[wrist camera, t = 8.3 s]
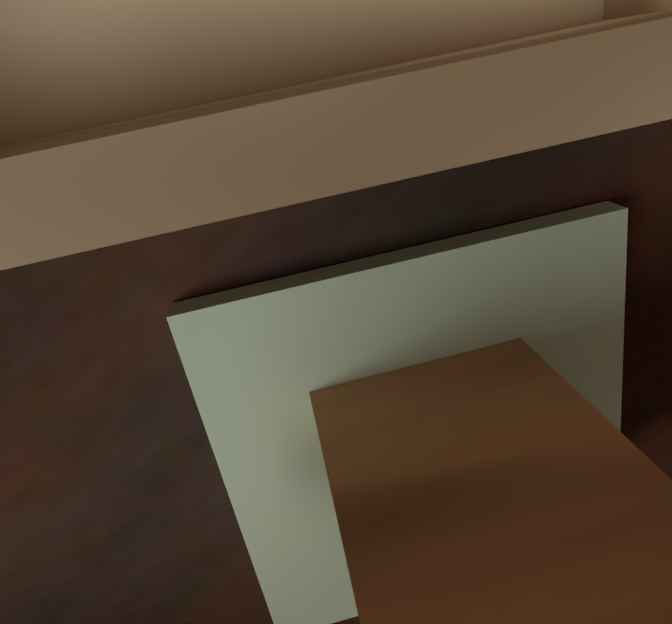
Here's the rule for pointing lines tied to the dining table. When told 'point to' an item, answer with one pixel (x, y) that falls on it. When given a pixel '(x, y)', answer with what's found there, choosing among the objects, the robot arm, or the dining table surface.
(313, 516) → the pad
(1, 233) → the access box
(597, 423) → the teak block
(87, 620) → the dining table surface
